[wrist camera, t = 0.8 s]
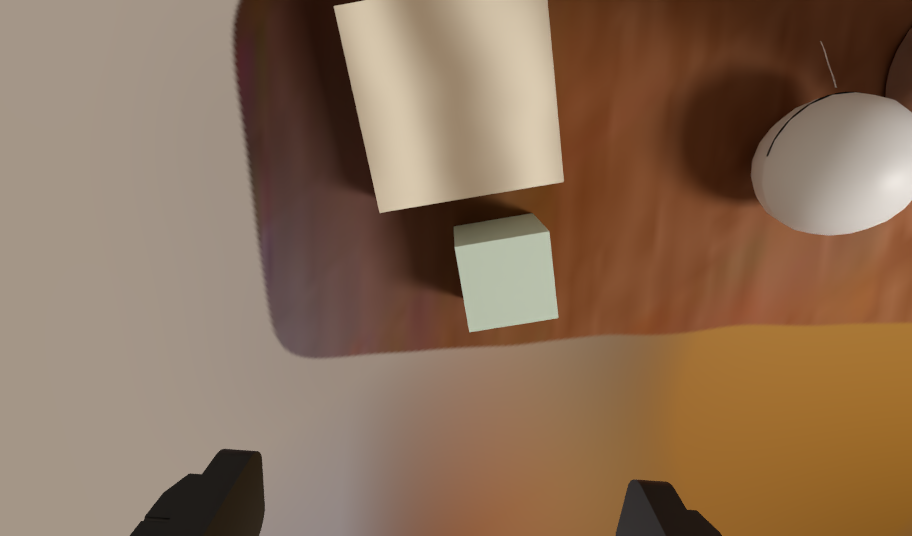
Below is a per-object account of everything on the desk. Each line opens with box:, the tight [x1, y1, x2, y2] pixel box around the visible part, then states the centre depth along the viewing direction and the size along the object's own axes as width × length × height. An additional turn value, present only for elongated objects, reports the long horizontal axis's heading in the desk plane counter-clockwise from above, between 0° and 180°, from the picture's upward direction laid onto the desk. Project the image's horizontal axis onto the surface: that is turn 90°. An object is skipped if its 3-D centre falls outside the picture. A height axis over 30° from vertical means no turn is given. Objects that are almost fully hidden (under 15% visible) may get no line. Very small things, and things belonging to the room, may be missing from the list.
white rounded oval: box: [751, 41, 912, 235], centre depth 24 cm, size 10×7×7 cm
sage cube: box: [454, 213, 558, 332], centre depth 27 cm, size 5×5×5 cm
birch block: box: [334, 0, 564, 213], centre depth 25 cm, size 10×10×4 cm
